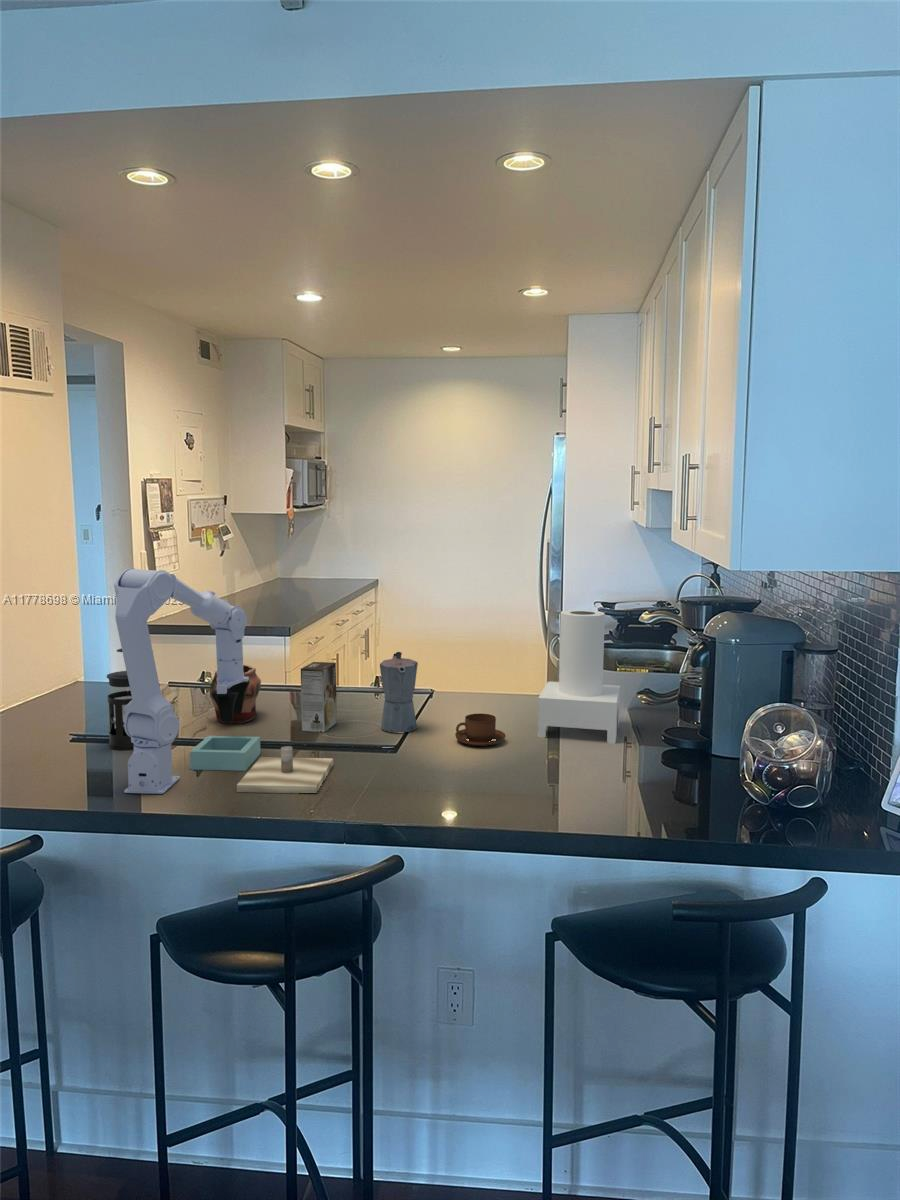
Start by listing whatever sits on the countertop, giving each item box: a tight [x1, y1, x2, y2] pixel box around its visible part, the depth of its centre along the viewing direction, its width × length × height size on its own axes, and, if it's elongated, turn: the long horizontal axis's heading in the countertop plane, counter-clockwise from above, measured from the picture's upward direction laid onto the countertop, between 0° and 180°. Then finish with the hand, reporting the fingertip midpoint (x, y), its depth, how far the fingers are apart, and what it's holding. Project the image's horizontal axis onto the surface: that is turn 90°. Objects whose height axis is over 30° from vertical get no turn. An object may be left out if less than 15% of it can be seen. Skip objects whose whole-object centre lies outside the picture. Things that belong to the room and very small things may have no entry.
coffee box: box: [300, 661, 338, 733], centre depth 217 cm, size 9×6×16 cm
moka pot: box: [379, 651, 419, 734], centre depth 216 cm, size 10×15×20 cm, turn 15°
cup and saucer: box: [455, 713, 506, 747], centre depth 206 cm, size 12×12×6 cm
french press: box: [106, 647, 134, 751], centre depth 201 cm, size 12×9×23 cm
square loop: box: [189, 735, 261, 772], centre depth 190 cm, size 12×12×4 cm
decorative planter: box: [209, 664, 262, 724], centre depth 222 cm, size 20×12×14 cm, turn 173°
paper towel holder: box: [537, 609, 621, 744], centre depth 215 cm, size 19×19×30 cm
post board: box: [236, 745, 334, 794], centre depth 179 cm, size 18×16×6 cm
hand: (232, 717), depth 194 cm, fingers open, 7 cm apart
